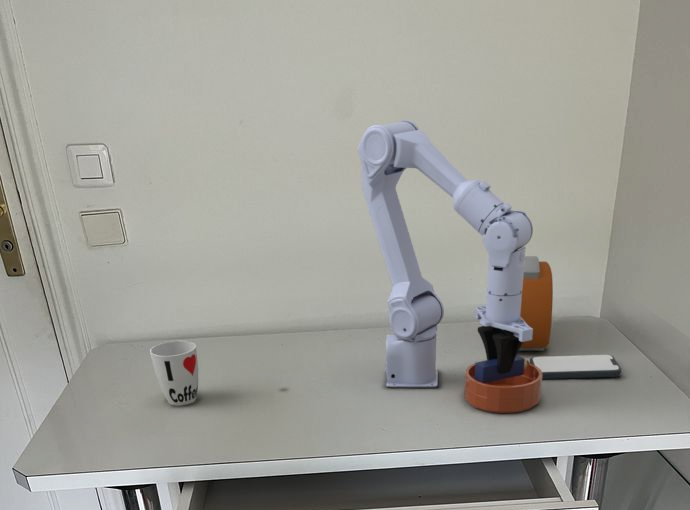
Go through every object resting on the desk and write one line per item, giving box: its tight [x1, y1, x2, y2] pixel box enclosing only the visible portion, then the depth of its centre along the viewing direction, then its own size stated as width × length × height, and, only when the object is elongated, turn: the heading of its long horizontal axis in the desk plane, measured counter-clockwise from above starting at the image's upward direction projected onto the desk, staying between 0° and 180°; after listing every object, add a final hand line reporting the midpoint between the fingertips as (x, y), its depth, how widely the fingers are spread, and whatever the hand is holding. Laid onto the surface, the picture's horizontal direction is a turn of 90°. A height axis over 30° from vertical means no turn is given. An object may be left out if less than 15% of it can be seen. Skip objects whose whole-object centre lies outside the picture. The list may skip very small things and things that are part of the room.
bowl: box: [464, 359, 543, 414], centre depth 129 cm, size 13×13×5 cm
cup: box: [149, 340, 199, 407], centre depth 132 cm, size 8×8×10 cm
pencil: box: [475, 354, 530, 383], centre depth 127 cm, size 10×3×3 cm, turn 114°
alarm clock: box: [518, 255, 554, 352], centre depth 152 cm, size 23×9×17 cm, turn 172°
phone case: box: [529, 354, 622, 380], centre depth 139 cm, size 9×2×16 cm
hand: (499, 369), depth 127 cm, fingers closed on pencil, 2 cm apart
